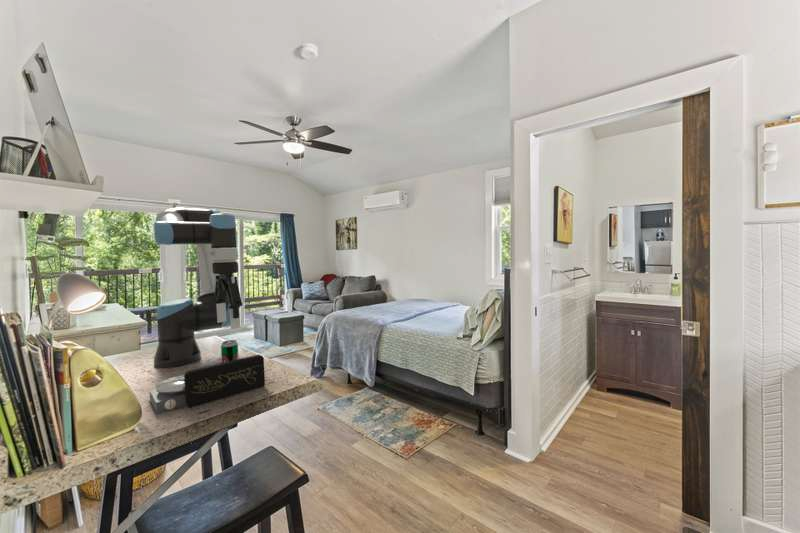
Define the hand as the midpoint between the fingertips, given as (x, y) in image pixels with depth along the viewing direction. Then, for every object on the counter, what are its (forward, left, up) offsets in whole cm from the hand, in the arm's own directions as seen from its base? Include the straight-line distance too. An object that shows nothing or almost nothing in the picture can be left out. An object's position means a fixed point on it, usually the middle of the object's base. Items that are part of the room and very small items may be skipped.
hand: (228, 325), depth 113 cm
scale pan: (+7, -16, -14) cm, 22 cm away
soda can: (0, 0, -18) cm, 18 cm away
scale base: (+7, -16, -18) cm, 25 cm away
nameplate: (+14, -6, -18) cm, 24 cm away
